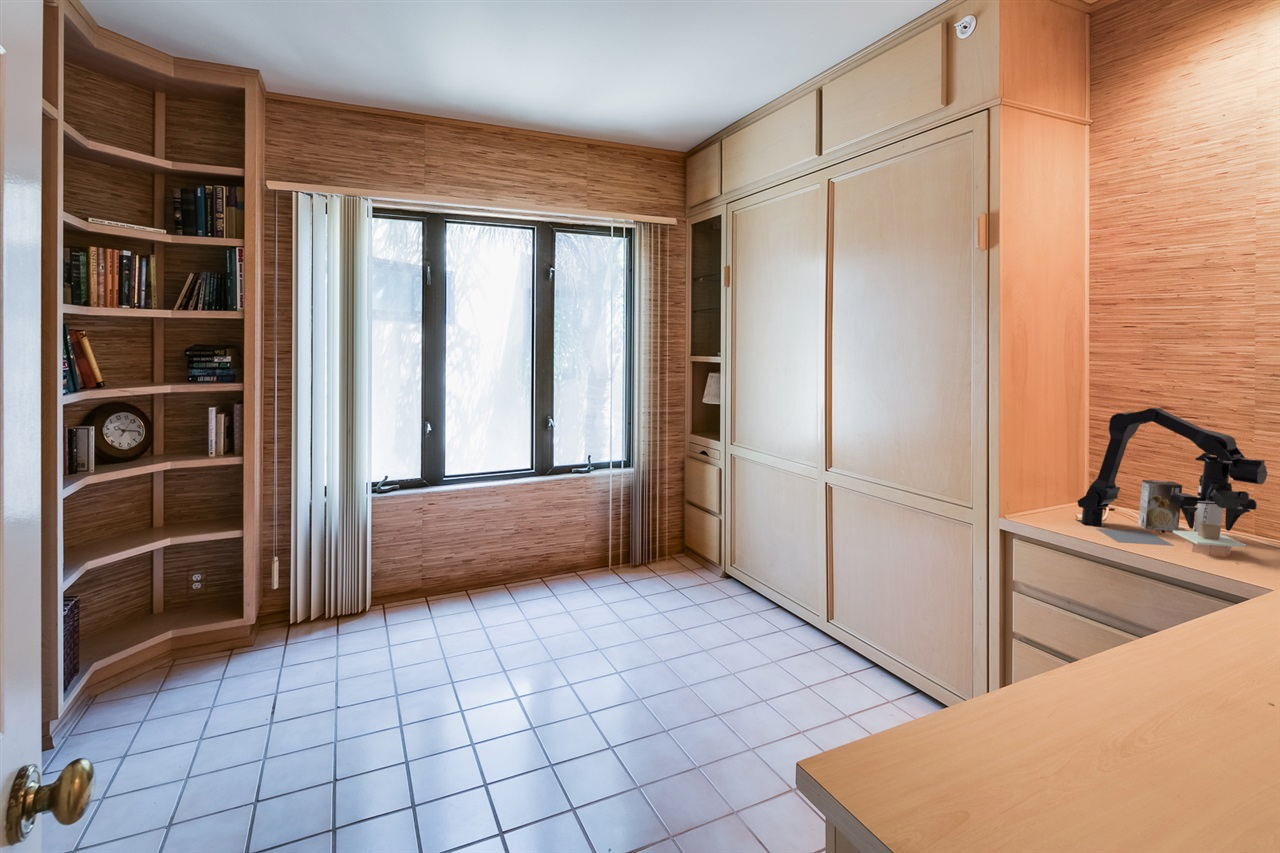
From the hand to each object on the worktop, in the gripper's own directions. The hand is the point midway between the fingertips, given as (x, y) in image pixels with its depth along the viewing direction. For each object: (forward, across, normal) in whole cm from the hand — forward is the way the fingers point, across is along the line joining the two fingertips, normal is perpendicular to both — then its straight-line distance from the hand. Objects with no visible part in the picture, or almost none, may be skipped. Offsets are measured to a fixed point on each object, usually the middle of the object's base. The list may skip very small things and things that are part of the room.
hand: (1209, 529), depth 187 cm
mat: (+7, -14, +11) cm, 19 cm away
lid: (+3, 0, 0) cm, 3 cm away
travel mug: (+7, +9, +17) cm, 21 cm away
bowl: (+7, 0, 0) cm, 7 cm away
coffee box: (+7, -1, +24) cm, 25 cm away
